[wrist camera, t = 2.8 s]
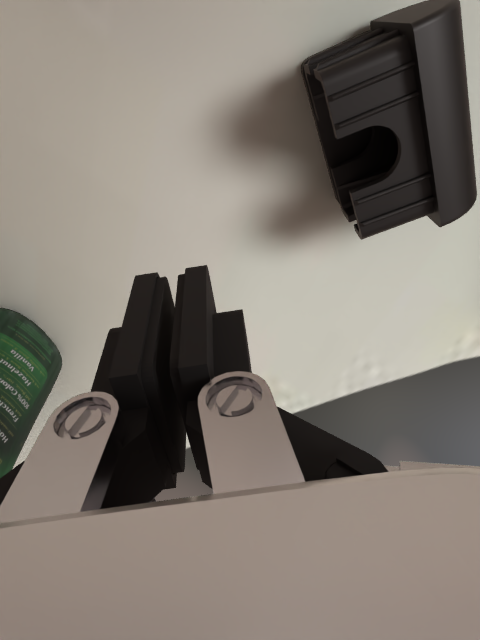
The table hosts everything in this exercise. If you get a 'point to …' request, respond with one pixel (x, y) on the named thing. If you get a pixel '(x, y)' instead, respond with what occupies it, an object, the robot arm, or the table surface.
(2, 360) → the coffee jar
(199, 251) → the table surface
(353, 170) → the end cap
